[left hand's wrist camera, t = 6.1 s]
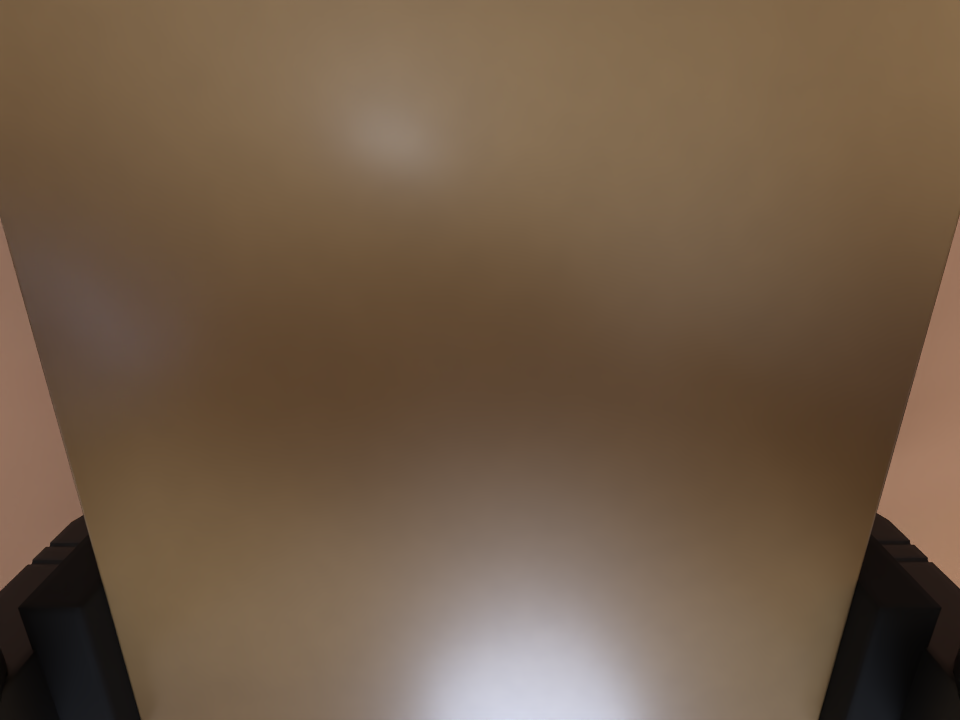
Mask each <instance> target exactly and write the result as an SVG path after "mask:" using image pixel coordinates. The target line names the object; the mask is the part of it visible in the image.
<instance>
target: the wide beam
mask: <svg viewBox="0 0 960 720" xmlns="http://www.w3.org/2000/svg"><path fill="white" fill-rule="evenodd" d="M959 215H960V0H0V218H1V221H2V225H3V228H4V232H5V236H6V239H7V243H8V246H9V250H10V253H11V257H12V261H13V264H14V268H15V271H16V275H17V279H18V282H19V286H20V289H21V293H22V296H23V300H24V304H25V307H26V311H27V314H28V318H29V322H30V325H31V329H32V332H33V336H34V339H35V343H36V347H37V350H38V354H39V357H40V361H41V365H42V368H43V372H44V375H45V379H46V382H47V386H48V390H49V393H50V397H51V400H52V404H53V407H54V411H55V415H56V418H57V422H58V425H59V429H60V433H61V436H62V440H63V443H64V447H65V450H66V454H67V458H68V461H69V465H70V468H71V472H72V476H73V479H74V483H75V486H76V490H77V493H78V497H79V501H80V504H81V508H82V511H83V515H84V519H85V522H86V526H87V529H88V533H89V536H90V540H91V544H92V547H93V551H94V554H95V558H96V562H97V565H98V569H99V572H100V576H101V579H102V583H103V587H104V590H105V594H106V597H107V601H108V604H109V608H110V612H111V615H112V619H113V622H114V626H115V630H116V633H117V637H118V640H119V644H120V647H121V651H122V655H123V658H124V662H125V665H126V669H127V673H128V676H129V680H130V683H131V687H132V690H133V694H134V698H135V701H136V705H137V708H138V712H139V716H140V719H141V720H819V717H820V713H821V710H822V706H823V703H824V699H825V696H826V692H827V688H828V685H829V681H830V678H831V674H832V670H833V667H834V663H835V660H836V656H837V653H838V649H839V645H840V642H841V638H842V635H843V631H844V627H845V624H846V620H847V617H848V613H849V610H850V606H851V602H852V599H853V595H854V592H855V588H856V584H857V581H858V577H859V574H860V570H861V567H862V563H863V559H864V556H865V552H866V549H867V545H868V541H869V538H870V534H871V531H872V527H873V524H874V520H875V516H876V513H877V509H878V506H879V502H880V498H881V495H882V491H883V488H884V484H885V481H886V477H887V473H888V470H889V466H890V463H891V459H892V455H893V452H894V448H895V445H896V441H897V438H898V434H899V430H900V427H901V423H902V420H903V416H904V412H905V409H906V405H907V402H908V398H909V395H910V391H911V387H912V384H913V380H914V377H915V373H916V369H917V366H918V362H919V359H920V355H921V352H922V348H923V344H924V341H925V337H926V334H927V330H928V326H929V323H930V319H931V316H932V312H933V309H934V305H935V301H936V298H937V294H938V291H939V287H940V283H941V280H942V276H943V273H944V269H945V266H946V262H947V258H948V255H949V251H950V248H951V244H952V240H953V237H954V233H955V230H956V226H957V223H958V219H959Z"/></svg>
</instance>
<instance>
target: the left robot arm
mask: <svg viewBox="0 0 960 720" xmlns="http://www.w3.org/2000/svg"><path fill="white" fill-rule="evenodd" d="M0 720H141V719H140V716H139V712H138V708H137V705H136V701H135V698H134V694H133V690H132V687H131V683H130V680H129V676H128V673H127V669H126V665H125V662H124V658H123V655H122V651H121V647H120V644H119V640H118V637H117V633H116V630H115V626H114V622H113V619H112V615H111V612H110V608H109V604H108V601H107V597H106V594H105V590H104V587H103V583H102V579H101V576H100V572H99V569H98V565H97V562H96V558H95V554H94V551H93V547H92V544H91V540H90V536H89V533H88V529H87V526H86V522H85V519H84V515H83V516H81V517H80V518H78V519H76V520H74V521H73V522H71V523H70V524H69V525H68V526H67V527H66V528H65V529H64V530H63V531H62V532H61V533H60V534H59V535H58V536H57V537H56V538H55V539H54V540H53V541H52V542H51V543H50V547H45V548H44V549H43V550H42V551H41V552H40V553H39V554H38V555H37V556H36V557H35V558H34V559H33V562H32V564H31V565H27V566H26V567H25V568H24V569H23V570H22V571H21V572H20V573H19V574H18V575H17V576H16V577H15V578H14V579H12V580H11V581H10V582H9V583H8V584H7V585H6V586H5V587H4V588H3V589H2V590H1V591H0ZM819 720H960V589H959V588H958V587H957V586H956V585H955V584H954V583H953V582H952V581H951V580H950V579H949V578H948V577H947V576H946V575H945V574H944V573H943V572H942V571H941V570H940V569H939V568H938V567H937V566H936V565H935V564H934V563H933V562H928V558H927V557H926V556H925V555H924V554H923V553H922V552H921V551H920V550H919V549H918V548H917V547H916V546H915V545H911V544H910V540H909V539H908V538H907V537H906V536H905V535H904V534H902V533H901V532H900V531H899V530H898V529H897V528H896V527H895V526H894V525H893V524H892V523H891V522H890V521H889V520H887V519H886V518H884V517H882V516H881V515H879V514H877V513H876V516H875V520H874V524H873V527H872V531H871V534H870V538H869V541H868V545H867V549H866V552H865V556H864V559H863V563H862V567H861V570H860V574H859V577H858V581H857V584H856V588H855V592H854V595H853V599H852V602H851V606H850V610H849V613H848V617H847V620H846V624H845V627H844V631H843V635H842V638H841V642H840V645H839V649H838V653H837V656H836V660H835V663H834V667H833V670H832V674H831V678H830V681H829V685H828V688H827V692H826V696H825V699H824V703H823V706H822V710H821V713H820V717H819Z"/></svg>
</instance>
